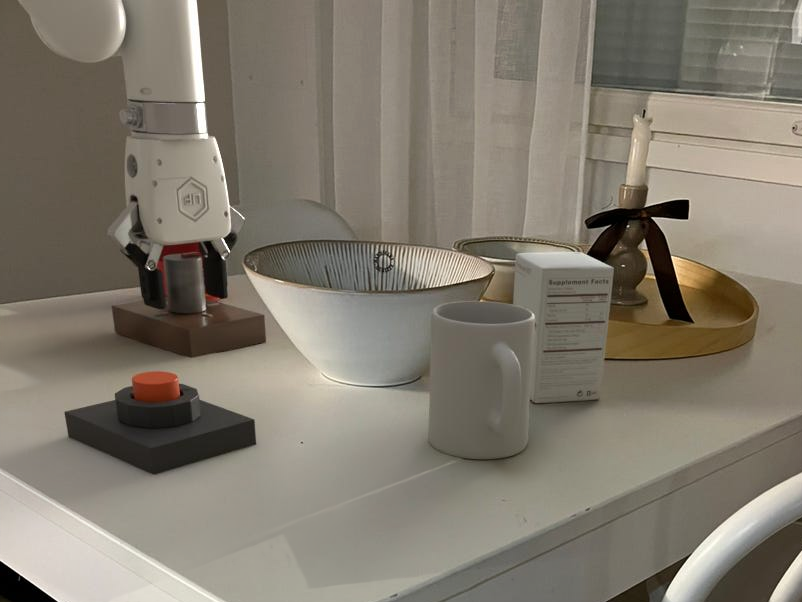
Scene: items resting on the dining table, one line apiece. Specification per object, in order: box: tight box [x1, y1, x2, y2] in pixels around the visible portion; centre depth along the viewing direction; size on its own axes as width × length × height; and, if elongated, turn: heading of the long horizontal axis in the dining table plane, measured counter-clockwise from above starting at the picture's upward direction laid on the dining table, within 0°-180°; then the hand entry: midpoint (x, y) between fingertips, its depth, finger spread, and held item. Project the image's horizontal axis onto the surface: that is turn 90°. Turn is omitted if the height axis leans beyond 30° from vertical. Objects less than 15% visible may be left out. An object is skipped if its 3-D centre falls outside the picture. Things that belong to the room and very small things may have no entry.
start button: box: [131, 370, 180, 402], centre depth 83 cm, size 4×4×2 cm
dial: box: [163, 252, 206, 314], centre depth 111 cm, size 4×4×6 cm
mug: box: [427, 300, 535, 460], centre depth 84 cm, size 12×8×11 cm
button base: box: [63, 383, 257, 475], centre depth 84 cm, size 12×10×4 cm
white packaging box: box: [512, 251, 615, 404], centre depth 99 cm, size 7×7×13 cm
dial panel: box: [111, 297, 267, 359], centre depth 113 cm, size 14×10×3 cm
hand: (186, 300), depth 112 cm, fingers open, 7 cm apart
